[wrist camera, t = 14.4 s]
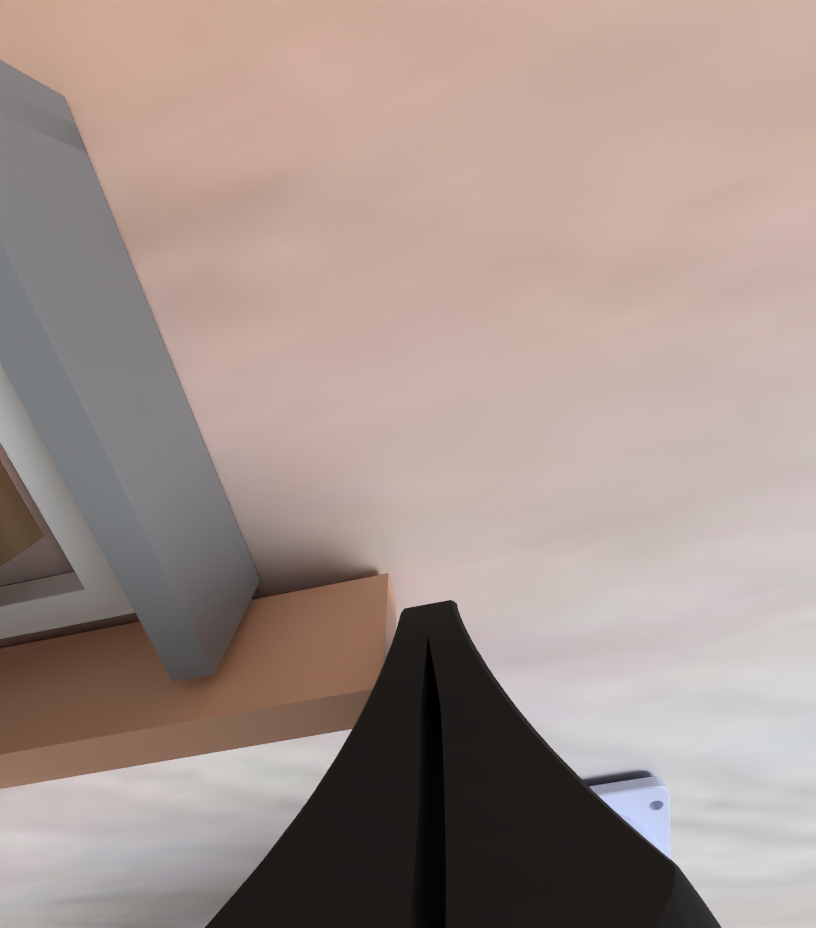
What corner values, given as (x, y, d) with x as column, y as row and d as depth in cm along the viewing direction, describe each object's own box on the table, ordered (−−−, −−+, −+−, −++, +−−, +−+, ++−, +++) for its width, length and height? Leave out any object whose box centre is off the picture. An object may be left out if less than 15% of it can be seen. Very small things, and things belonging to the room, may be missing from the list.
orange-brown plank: (396, 601, 13) (393, 722, 10) (-63, 688, 14) (-226, 827, 11) (388, 573, 13) (382, 687, 9) (-82, 664, 14) (-257, 799, 10)
